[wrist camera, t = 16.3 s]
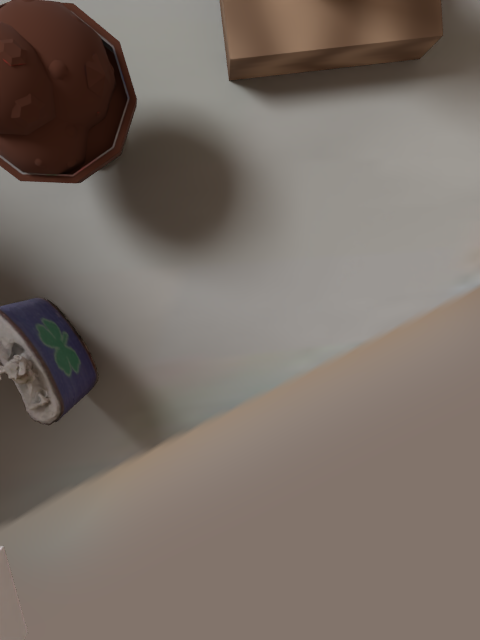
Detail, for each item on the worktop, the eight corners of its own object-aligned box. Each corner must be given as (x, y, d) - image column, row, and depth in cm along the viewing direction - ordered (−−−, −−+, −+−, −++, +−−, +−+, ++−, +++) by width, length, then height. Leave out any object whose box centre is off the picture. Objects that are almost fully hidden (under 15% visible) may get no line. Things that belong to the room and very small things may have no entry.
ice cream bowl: (106, 229, 39) (35, 209, 24) (-5, 143, 37) (-154, 67, 22) (182, 126, 38) (157, 40, 23) (71, 36, 36) (-32, -118, 22)
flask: (21, 306, 39) (-52, 323, 29) (50, 289, 39) (-13, 300, 29) (79, 395, 40) (29, 443, 30) (107, 379, 40) (68, 421, 30)
